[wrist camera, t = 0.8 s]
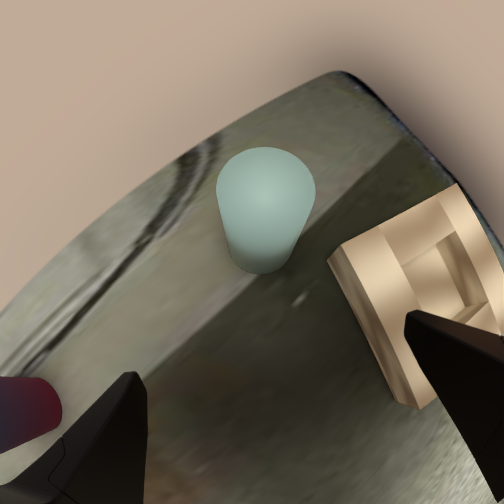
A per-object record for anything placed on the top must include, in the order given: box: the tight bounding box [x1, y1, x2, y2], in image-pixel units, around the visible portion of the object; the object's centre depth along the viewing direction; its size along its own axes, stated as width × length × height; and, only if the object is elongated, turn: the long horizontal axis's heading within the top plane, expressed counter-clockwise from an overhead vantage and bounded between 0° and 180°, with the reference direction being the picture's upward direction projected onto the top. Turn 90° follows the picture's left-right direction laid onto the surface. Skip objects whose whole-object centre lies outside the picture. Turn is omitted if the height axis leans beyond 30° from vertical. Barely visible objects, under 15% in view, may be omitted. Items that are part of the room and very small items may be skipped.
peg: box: [216, 147, 315, 274], centre depth 19 cm, size 5×5×9 cm
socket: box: [327, 183, 504, 410], centre depth 21 cm, size 13×13×4 cm
